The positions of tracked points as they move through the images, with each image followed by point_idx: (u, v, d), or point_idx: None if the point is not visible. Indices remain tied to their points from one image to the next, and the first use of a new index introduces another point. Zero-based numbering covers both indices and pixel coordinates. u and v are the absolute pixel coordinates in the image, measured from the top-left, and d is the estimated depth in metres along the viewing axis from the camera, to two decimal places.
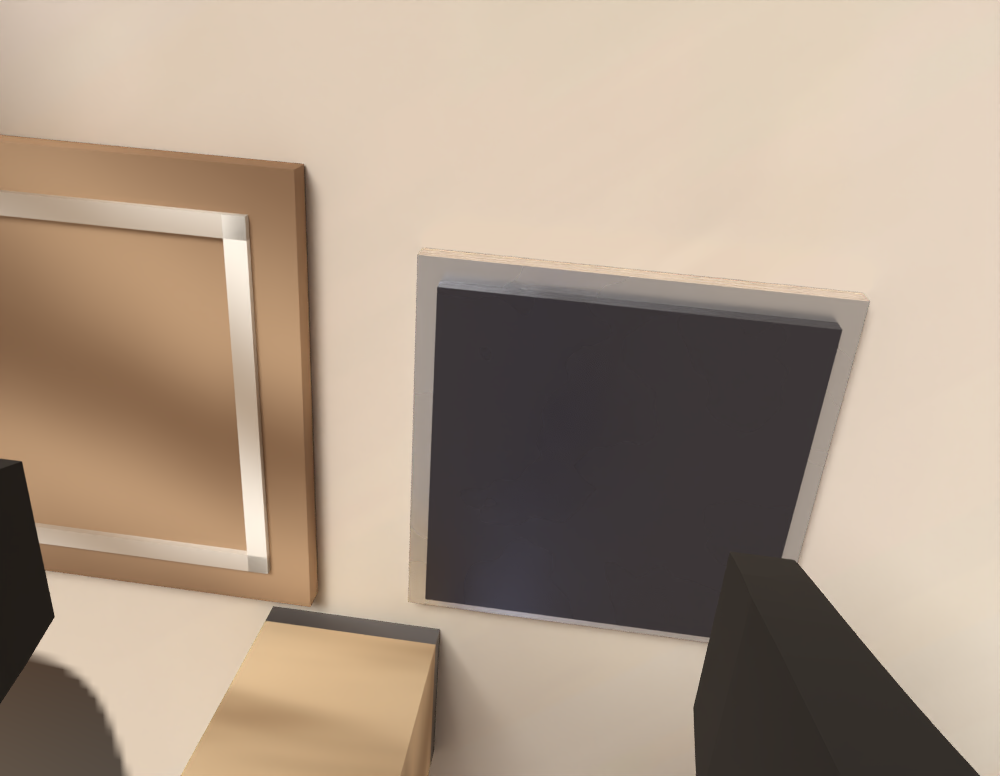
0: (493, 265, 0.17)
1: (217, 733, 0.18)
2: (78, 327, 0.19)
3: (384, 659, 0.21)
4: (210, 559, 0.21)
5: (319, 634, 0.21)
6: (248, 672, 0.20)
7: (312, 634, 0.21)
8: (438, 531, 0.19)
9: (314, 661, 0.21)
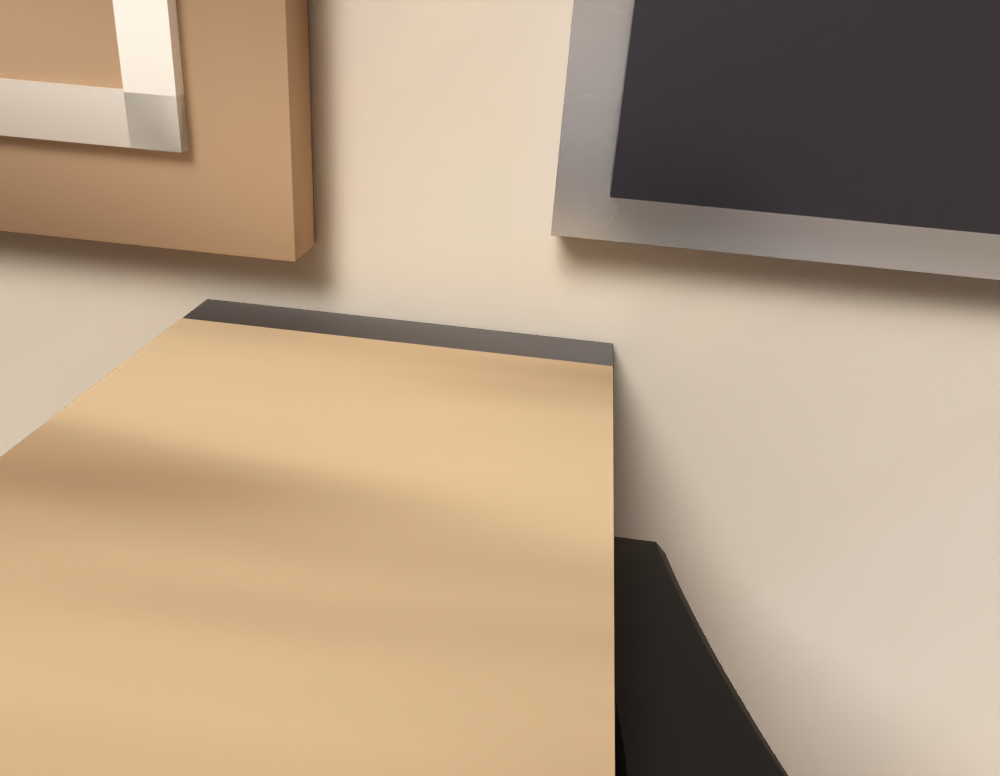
0: None
1: None
2: None
3: (489, 384, 0.08)
4: (30, 117, 0.08)
5: (316, 341, 0.08)
6: (115, 396, 0.07)
7: (298, 341, 0.08)
8: None
9: (302, 381, 0.08)
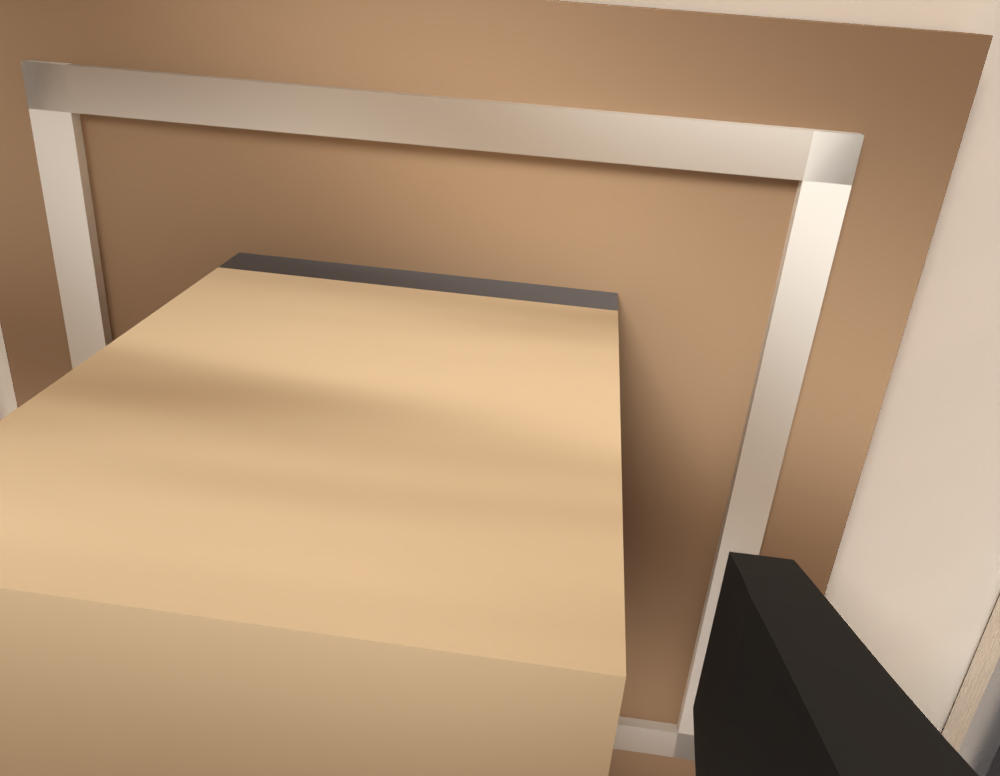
0: None
1: (48, 417, 0.06)
2: None
3: (505, 323, 0.08)
4: None
5: (343, 287, 0.09)
6: (164, 327, 0.08)
7: (327, 287, 0.09)
8: None
9: (333, 319, 0.08)
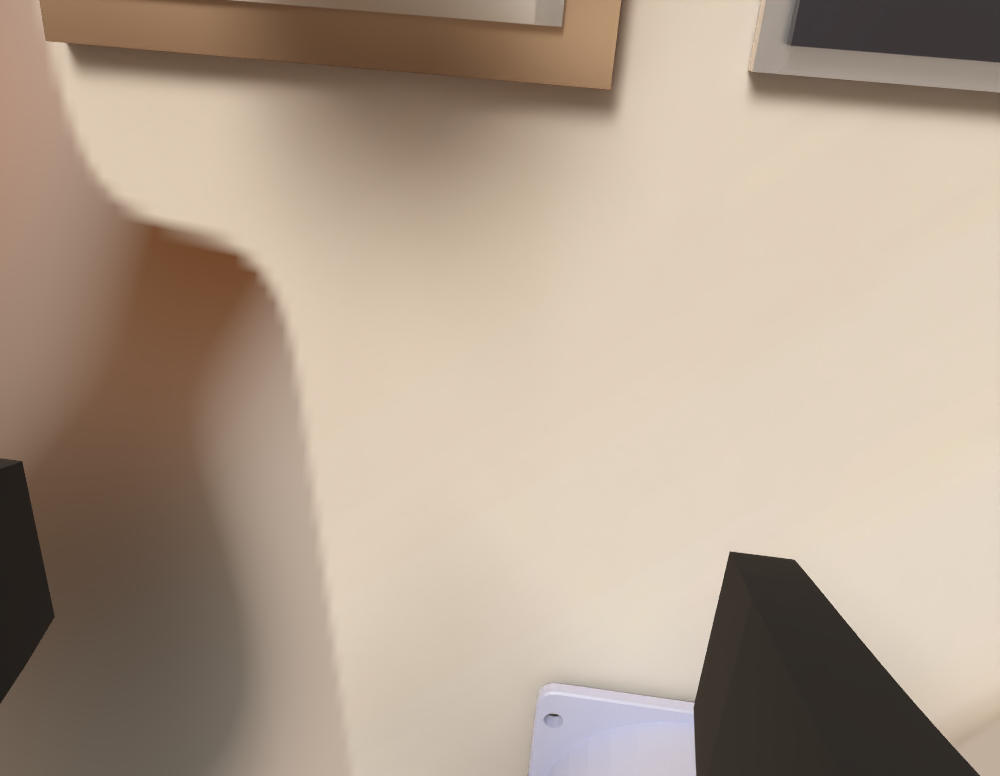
0: None
1: None
2: None
3: None
4: (480, 9, 0.15)
5: None
6: None
7: None
8: None
9: None
